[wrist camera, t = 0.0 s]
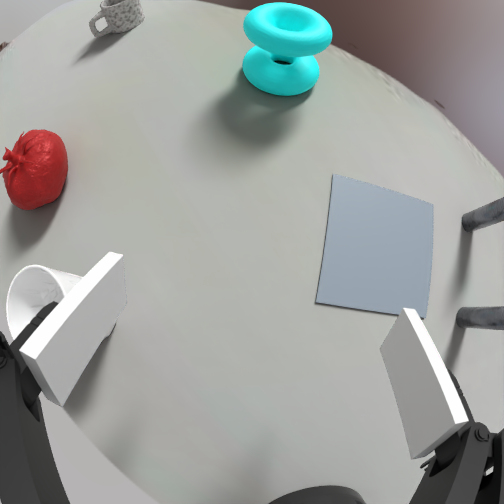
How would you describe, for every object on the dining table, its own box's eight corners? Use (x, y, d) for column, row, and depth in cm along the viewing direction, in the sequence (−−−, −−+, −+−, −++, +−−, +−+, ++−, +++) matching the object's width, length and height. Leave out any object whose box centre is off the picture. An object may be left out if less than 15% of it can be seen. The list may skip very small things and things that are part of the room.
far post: (473, 234, 30) (518, 218, 21) (462, 229, 30) (508, 212, 21) (473, 216, 30) (516, 198, 21) (461, 211, 30) (505, 191, 21)
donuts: (282, -8, 23) (350, 26, 22) (275, 44, 33) (330, 77, 32) (224, 16, 22) (299, 54, 21) (226, 73, 32) (285, 112, 31)
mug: (132, 11, 34) (125, -13, 28) (151, 17, 34) (144, -9, 27) (90, 39, 33) (78, 16, 26) (105, 47, 32) (92, 21, 26)
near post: (467, 327, 28) (515, 330, 19) (455, 326, 28) (505, 330, 19) (469, 308, 28) (518, 307, 19) (457, 306, 28) (508, 305, 19)
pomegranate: (83, 139, 30) (49, 100, 20) (70, 212, 28) (23, 185, 19) (32, 153, 29) (-5, 124, 20) (18, 219, 28) (-27, 200, 18)
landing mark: (424, 317, 28) (425, 317, 27) (315, 302, 28) (316, 302, 27) (432, 204, 30) (433, 204, 30) (332, 174, 30) (333, 173, 30)
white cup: (121, 352, 26) (71, 374, 16) (63, 339, 26) (6, 350, 16) (124, 279, 27) (73, 269, 17) (66, 271, 27) (9, 260, 17)
